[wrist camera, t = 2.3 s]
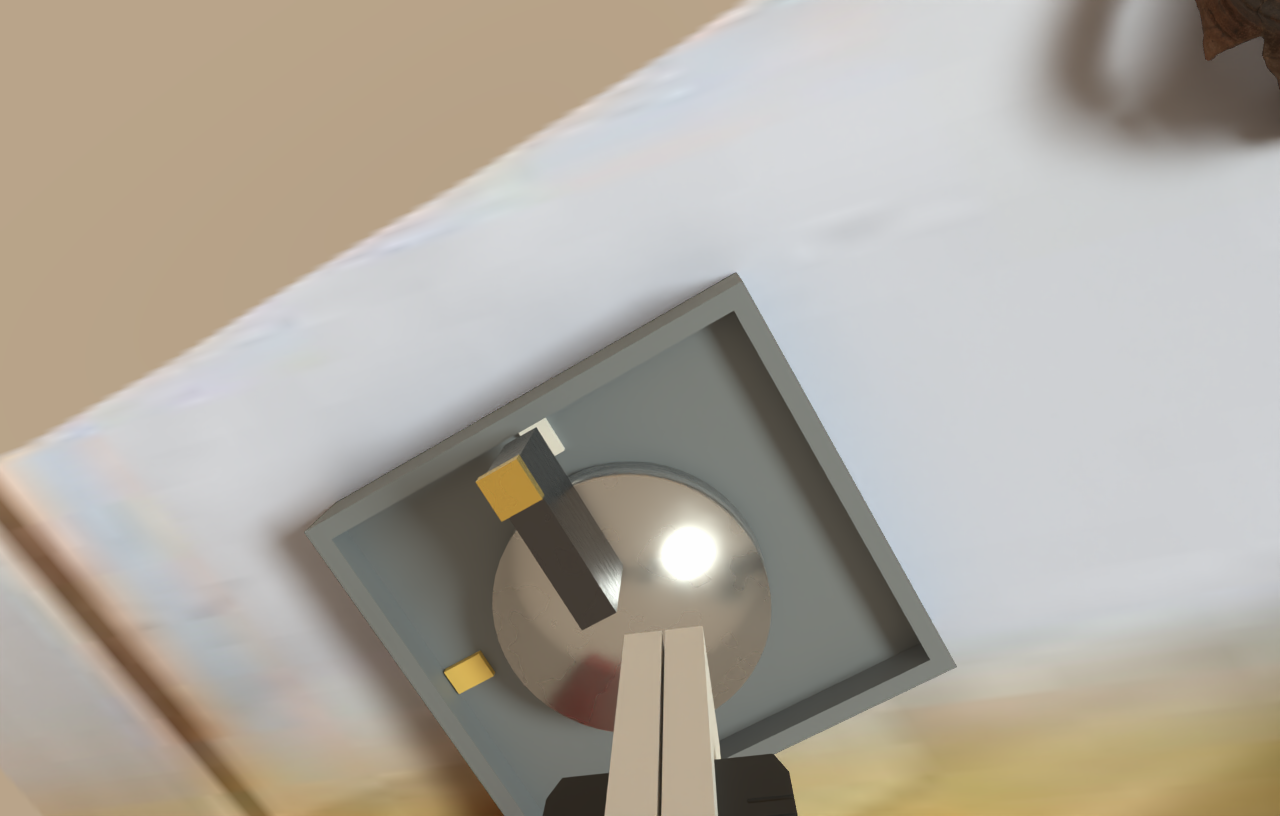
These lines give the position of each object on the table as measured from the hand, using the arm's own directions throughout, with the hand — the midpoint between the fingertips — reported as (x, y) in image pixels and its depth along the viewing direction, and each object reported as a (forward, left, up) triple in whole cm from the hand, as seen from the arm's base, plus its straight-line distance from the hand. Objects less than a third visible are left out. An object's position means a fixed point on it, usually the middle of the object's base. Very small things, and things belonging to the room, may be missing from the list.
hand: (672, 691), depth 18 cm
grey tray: (-5, +5, -20) cm, 21 cm away
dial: (-3, +5, -18) cm, 19 cm away
